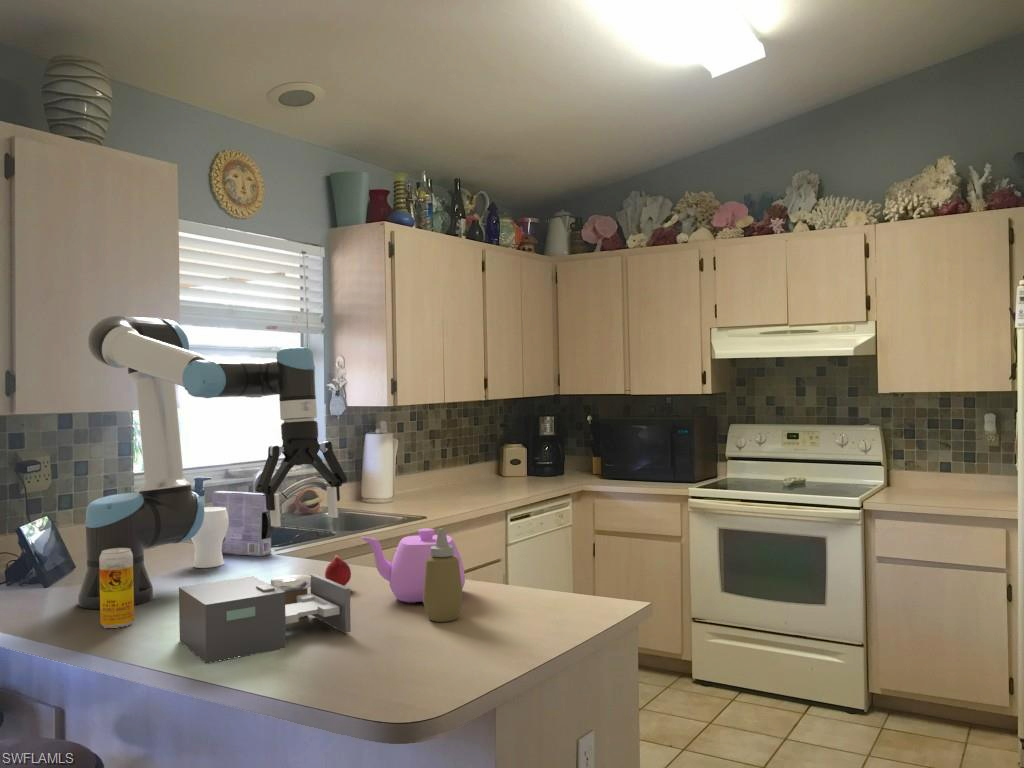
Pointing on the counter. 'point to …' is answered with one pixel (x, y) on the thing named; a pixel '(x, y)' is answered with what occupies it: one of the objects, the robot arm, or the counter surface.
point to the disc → (291, 582)
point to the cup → (210, 538)
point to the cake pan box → (245, 523)
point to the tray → (323, 604)
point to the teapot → (410, 564)
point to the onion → (338, 571)
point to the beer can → (116, 587)
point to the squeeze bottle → (442, 582)
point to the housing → (232, 618)
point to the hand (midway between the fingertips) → (305, 521)
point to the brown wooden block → (294, 596)
